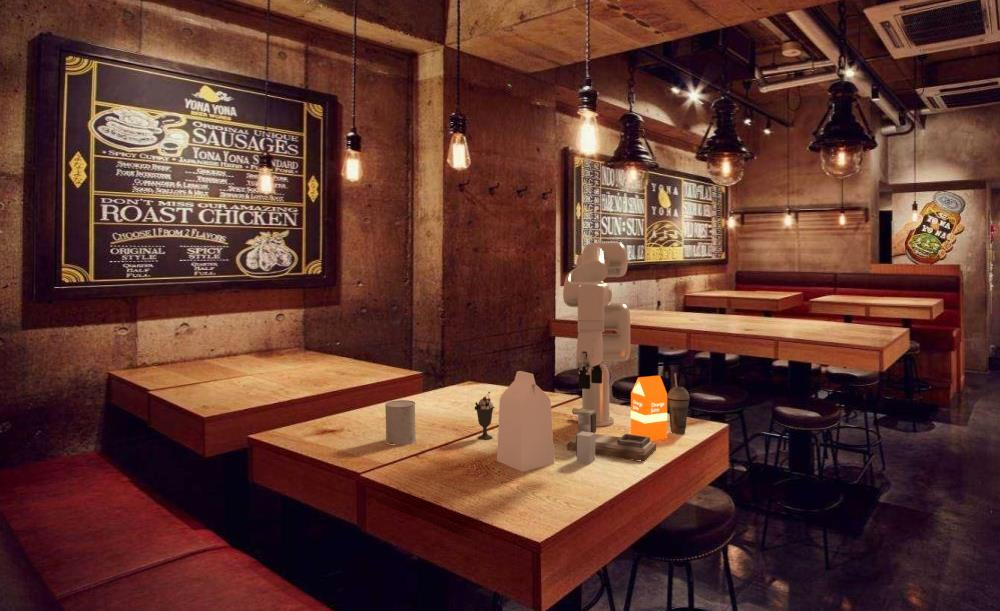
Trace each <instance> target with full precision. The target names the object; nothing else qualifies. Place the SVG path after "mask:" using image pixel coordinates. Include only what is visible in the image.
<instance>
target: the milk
mask: <svg viewBox="0 0 1000 611" xmlns="http://www.w3.org/2000/svg"><path fill="white" fill-rule="evenodd" d="M506 388H507V389H505V390H504V392H503V393H502V394H501V396H500V398H499V402H498V403H499V405H498V409H499V410H498V430H497V431H498V432H497V434H498V435H497V454H496V455H497V457H496V461H497V462H499V463H502V464H504V465H506V466H508V467H511V468H513V469H515V470H518V471H520V472H522V473H523V472H527V471H531V470H534V469H538V468H543V467H547V466H551V465H554V464H555V451H554V435H553V417H552V416H553V415H552V401H551V399H550V397H549V396H548V394H547V393H546V392H544V390H542V389H541V388H540V387H539V386H538V385H537V384H536V380H535V376H534V373H532V372H531V373H530V372H526V371H522V370H519V371H516V373H515V376H514V380H513V381H512V382H511V384H509V386H508V387H506Z"/></svg>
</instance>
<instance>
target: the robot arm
mask: <svg viewBox="0 0 1000 611" xmlns="http://www.w3.org/2000/svg"><path fill="white" fill-rule="evenodd" d="M575 263H576V267H575V268H573V269H572V270H570V271H569V272H568V273H567V274H566V277H565V278H564V279H565V280H564V284H563V289H562V290H563V291H562V296H563V298H562V299H563V302H564V304H565V305H566V306H568V307H570V308H577V333H578V334H577V341H576V342H577V343H576V357H575V358H576V359H575V361H576V362H575V363H576V364H575V365H576V366H577V370H578V388H579V389H581V390H582V396H581V398H582V399H581V400H582V407H581V408H578V407H577V408H576V407H572V409H571V413H572V414H573V415H575V416H576V415H577V416H578V412H579V411H580V410H582V409H587V410H595V413H596V427H608V426H611V425H613V424H614V422H615V419H614V418H613V417H612V416H610V377H611V376H610V372H609V369H608V368H607V367H606V366H605V364H604V362H625V361H627V360H629V359H630V354H631V313H630V308H629V307H628V305H627V304H625V303H623V302H622V303H620V302H612V299H613V290H612V288H611V287H610V286H609V283H606V282H604V280H605V279H606V278H621V277H624V276H625V275H626V273H627V271H628V251H627V248H626V246H625V245H624V244H623V243H621V242H615V241H614V242H593V243H589V244H587V245H586V246H585V247H583V251H582V253H581V254H580V255H578V256H577V258H576V262H575ZM605 331H615V332H616V333H605Z"/></svg>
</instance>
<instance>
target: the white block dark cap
mask: <svg viewBox="0 0 1000 611" xmlns="http://www.w3.org/2000/svg"><path fill="white" fill-rule="evenodd" d="M595 434H596V432H595V433H591V432H584V431H582V432H580V433H579V434H578V433H577V434H576V435H577V436H576V451H575V457H576V462H577V463H581V464H587V465H591V464H592V463H593V462H595V461H596V454H595Z"/></svg>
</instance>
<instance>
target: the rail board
mask: <svg viewBox="0 0 1000 611" xmlns="http://www.w3.org/2000/svg"><path fill="white" fill-rule="evenodd" d="M582 431H584V432H591V433H595V456H596V455H597V456H603V457H612V458H617V459H622V458H624V459H623V460H629V459H633V460H632V461H636V460H641V461H640V462H642V461H645V460H646V459H647V458H648V457H649V456H650V455H651V454H652V453H653V452H654V451H655V452H656V451H657V443H653V442H654V441H650V437H646V436H639V435H631V433H624V434H623V435H622V436H621V437H620V436H614V435H607V434H605V435H604V434H599V433H596V432H597V426H596V413H595V410H587V409H582V410H580V411H579V412H578V415H577V434H579V433H580V432H582ZM577 434H576V435H573V437H571V438H570V441H569V442H567V443H566V451H571V452H576V436H577ZM655 452H654V453H655ZM654 453H653V454H654ZM653 454H652V455H653ZM652 455H651V456H652ZM651 456H650V457H651ZM650 457H649V458H650ZM649 458H648V459H649ZM648 459H647V460H648ZM647 460H646V461H647ZM646 461H645V462H646Z"/></svg>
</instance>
